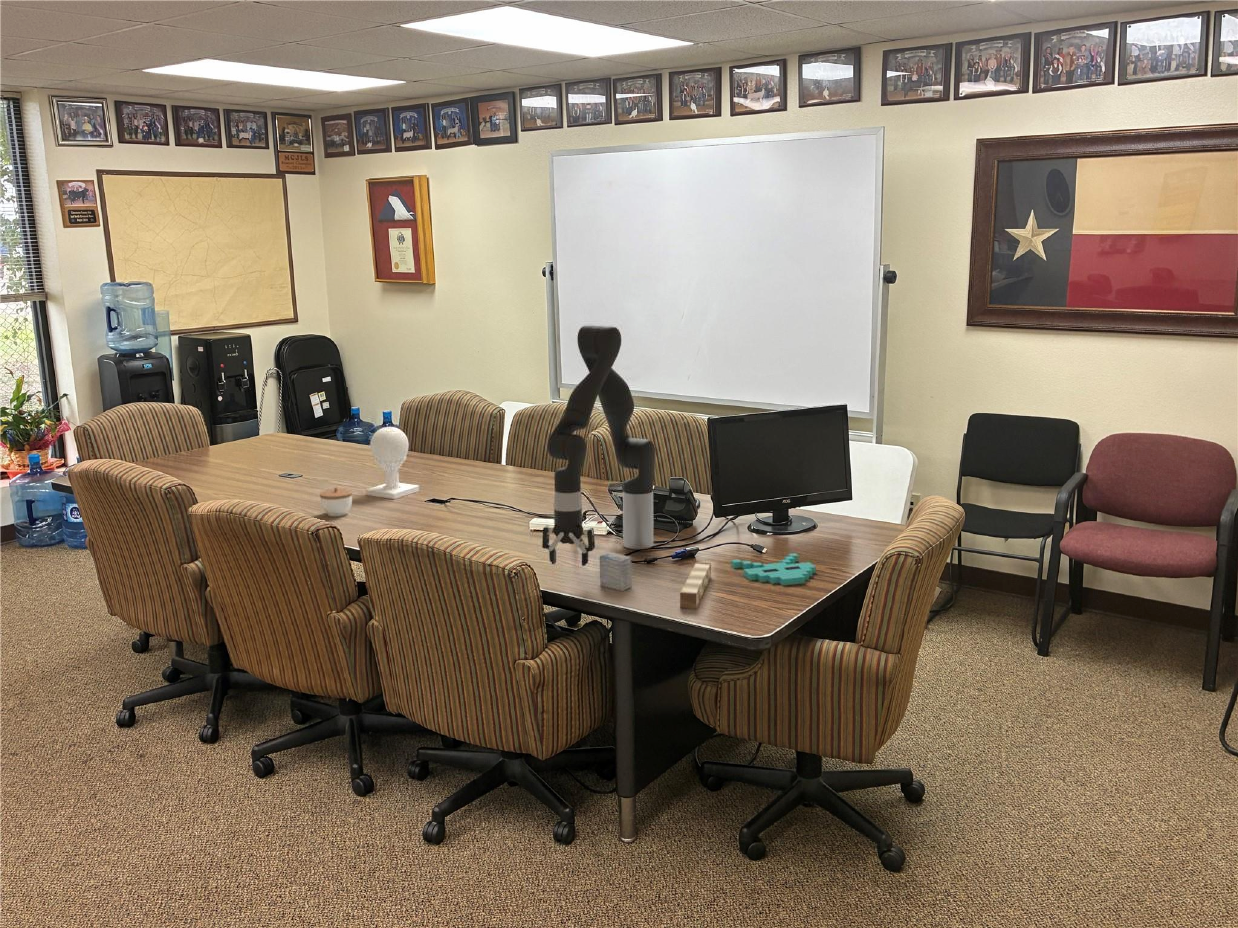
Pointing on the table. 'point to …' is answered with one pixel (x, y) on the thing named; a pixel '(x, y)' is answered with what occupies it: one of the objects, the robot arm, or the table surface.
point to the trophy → (390, 462)
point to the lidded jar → (336, 501)
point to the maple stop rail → (695, 585)
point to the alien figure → (777, 570)
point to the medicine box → (615, 571)
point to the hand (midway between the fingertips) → (568, 564)
